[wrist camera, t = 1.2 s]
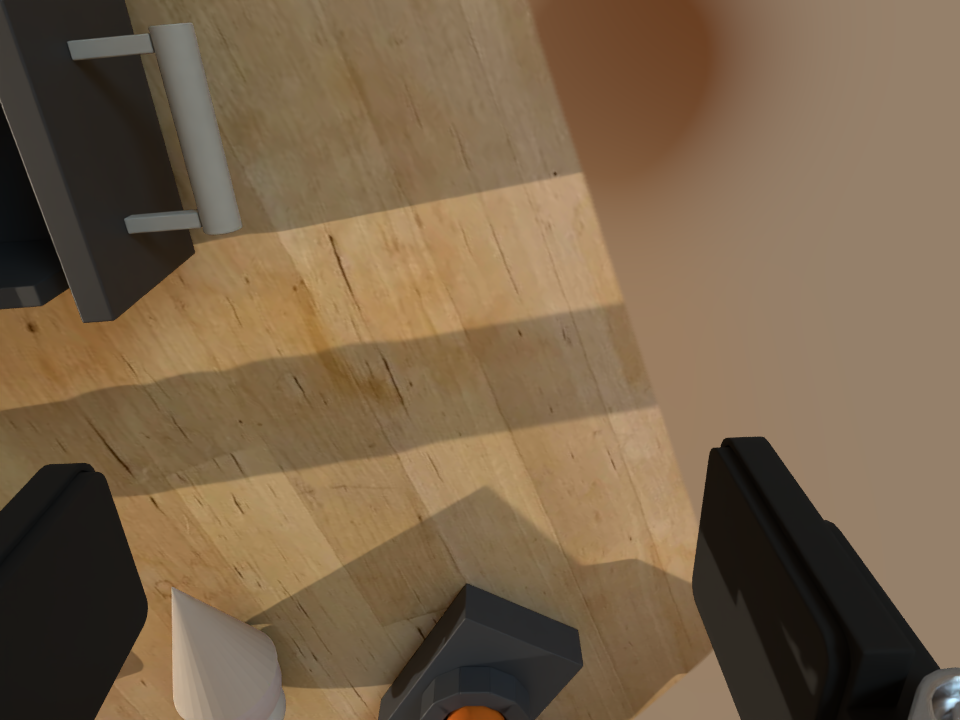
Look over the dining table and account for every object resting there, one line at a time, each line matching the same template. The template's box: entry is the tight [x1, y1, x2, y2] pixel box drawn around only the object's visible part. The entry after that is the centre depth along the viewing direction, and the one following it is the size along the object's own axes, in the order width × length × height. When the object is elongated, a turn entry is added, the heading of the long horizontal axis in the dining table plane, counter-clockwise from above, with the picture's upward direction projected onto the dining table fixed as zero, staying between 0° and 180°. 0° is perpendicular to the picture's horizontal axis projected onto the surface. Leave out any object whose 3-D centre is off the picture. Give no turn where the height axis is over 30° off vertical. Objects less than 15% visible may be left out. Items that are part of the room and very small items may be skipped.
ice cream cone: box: [172, 587, 286, 720], centre depth 40 cm, size 6×6×15 cm
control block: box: [378, 584, 583, 720], centre depth 43 cm, size 12×8×4 cm, turn 151°
